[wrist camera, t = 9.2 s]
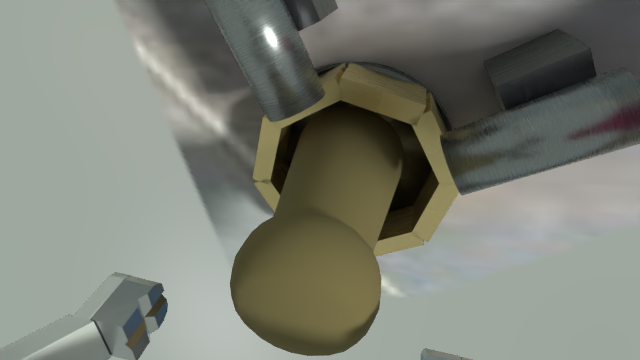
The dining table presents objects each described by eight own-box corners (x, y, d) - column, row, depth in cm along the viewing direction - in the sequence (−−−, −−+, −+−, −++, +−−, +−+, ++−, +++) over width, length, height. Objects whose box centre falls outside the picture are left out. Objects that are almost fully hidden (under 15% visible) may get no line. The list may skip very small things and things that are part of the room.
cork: (277, 152, 21) (170, 305, 12) (347, 81, 18) (272, 217, 9) (350, 217, 22) (303, 398, 13) (428, 161, 19) (435, 351, 10)
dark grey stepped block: (232, -30, 17) (156, -20, 12) (305, -75, 15) (250, -85, 10) (289, 87, 19) (245, 133, 14) (358, 59, 18) (333, 100, 13)
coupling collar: (260, 192, 24) (241, 220, 21) (291, 34, 18) (270, 48, 15) (409, 246, 23) (407, 281, 21) (493, 101, 17) (504, 127, 15)
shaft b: (572, 22, 15) (643, 58, 10) (592, 106, 16) (662, 172, 12) (430, 85, 17) (433, 137, 13) (459, 151, 19) (471, 221, 14)
